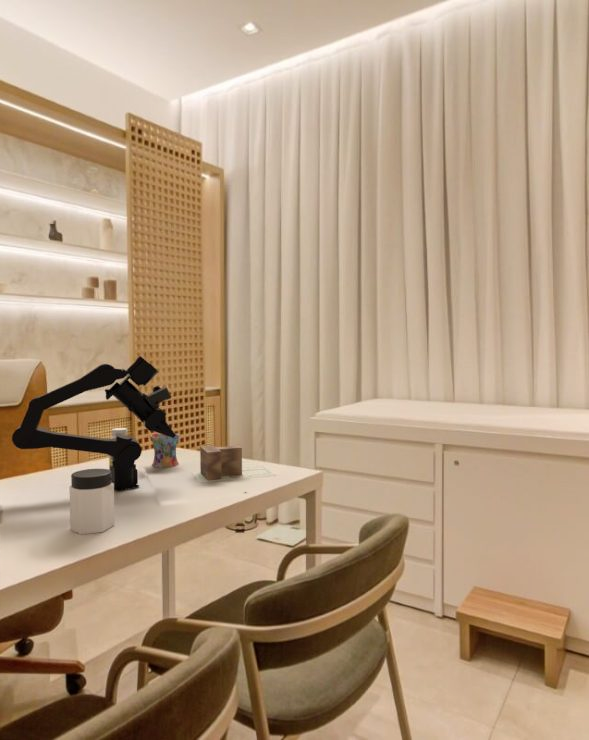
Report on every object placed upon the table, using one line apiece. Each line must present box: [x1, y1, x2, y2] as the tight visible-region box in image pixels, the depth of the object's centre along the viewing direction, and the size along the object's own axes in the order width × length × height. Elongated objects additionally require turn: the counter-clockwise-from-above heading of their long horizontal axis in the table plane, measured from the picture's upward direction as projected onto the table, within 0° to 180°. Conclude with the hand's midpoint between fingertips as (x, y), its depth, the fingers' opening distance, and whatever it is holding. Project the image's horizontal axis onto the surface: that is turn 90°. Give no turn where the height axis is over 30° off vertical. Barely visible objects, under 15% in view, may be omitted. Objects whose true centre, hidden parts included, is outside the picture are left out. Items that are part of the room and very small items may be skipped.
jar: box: [68, 468, 116, 535], centre depth 116 cm, size 9×8×12 cm
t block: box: [199, 445, 243, 480], centre depth 158 cm, size 11×10×8 cm
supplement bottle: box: [108, 427, 128, 469], centre depth 171 cm, size 7×7×13 cm
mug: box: [149, 432, 180, 469], centre depth 174 cm, size 12×9×11 cm
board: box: [191, 465, 276, 484], centre depth 160 cm, size 22×13×1 cm, turn 111°
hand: (173, 435), depth 153 cm, fingers open, 3 cm apart
